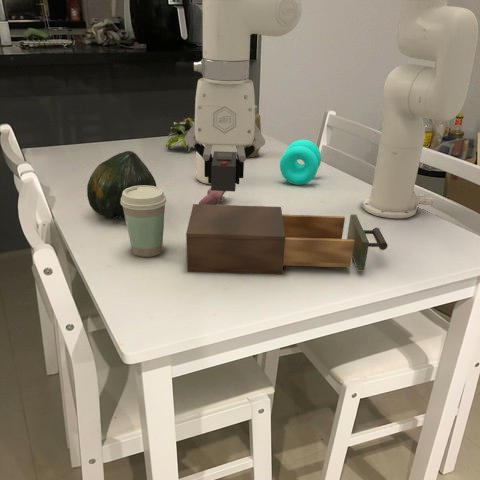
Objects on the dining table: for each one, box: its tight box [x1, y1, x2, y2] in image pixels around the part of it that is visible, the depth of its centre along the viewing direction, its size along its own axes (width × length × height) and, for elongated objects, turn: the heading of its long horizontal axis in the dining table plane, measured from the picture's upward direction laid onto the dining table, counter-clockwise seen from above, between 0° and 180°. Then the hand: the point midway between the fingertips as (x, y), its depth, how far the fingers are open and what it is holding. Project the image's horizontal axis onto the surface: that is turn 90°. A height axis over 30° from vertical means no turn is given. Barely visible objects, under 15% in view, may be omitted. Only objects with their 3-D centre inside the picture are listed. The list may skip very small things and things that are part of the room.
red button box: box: [210, 151, 238, 192], centre depth 95 cm, size 4×9×5 cm, turn 0°
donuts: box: [279, 139, 322, 186], centre depth 142 cm, size 10×10×10 cm
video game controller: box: [198, 187, 227, 205], centre depth 127 cm, size 10×5×7 cm, turn 168°
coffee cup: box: [120, 185, 168, 258], centre depth 102 cm, size 8×8×12 cm
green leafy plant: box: [165, 117, 195, 154], centre depth 165 cm, size 11×11×12 cm
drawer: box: [282, 214, 389, 272], centre depth 103 cm, size 21×13×6 cm, turn 89°
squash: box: [86, 150, 158, 219], centre depth 118 cm, size 14×15×15 cm
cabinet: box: [185, 203, 285, 275], centre depth 102 cm, size 18×15×8 cm
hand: (224, 180), depth 96 cm, fingers closed on red button box, 4 cm apart
